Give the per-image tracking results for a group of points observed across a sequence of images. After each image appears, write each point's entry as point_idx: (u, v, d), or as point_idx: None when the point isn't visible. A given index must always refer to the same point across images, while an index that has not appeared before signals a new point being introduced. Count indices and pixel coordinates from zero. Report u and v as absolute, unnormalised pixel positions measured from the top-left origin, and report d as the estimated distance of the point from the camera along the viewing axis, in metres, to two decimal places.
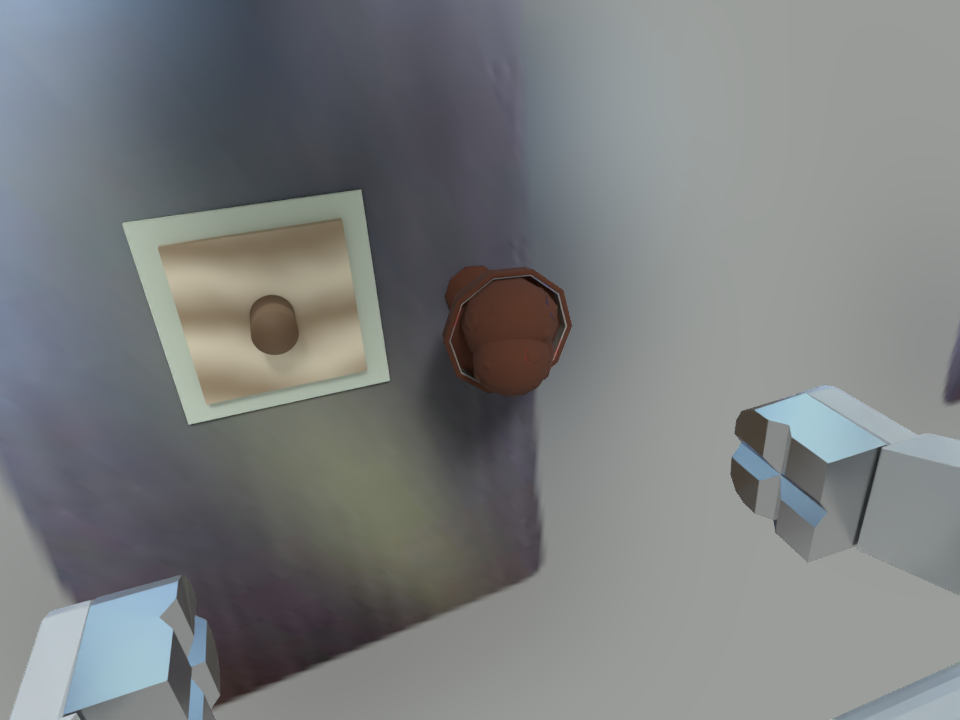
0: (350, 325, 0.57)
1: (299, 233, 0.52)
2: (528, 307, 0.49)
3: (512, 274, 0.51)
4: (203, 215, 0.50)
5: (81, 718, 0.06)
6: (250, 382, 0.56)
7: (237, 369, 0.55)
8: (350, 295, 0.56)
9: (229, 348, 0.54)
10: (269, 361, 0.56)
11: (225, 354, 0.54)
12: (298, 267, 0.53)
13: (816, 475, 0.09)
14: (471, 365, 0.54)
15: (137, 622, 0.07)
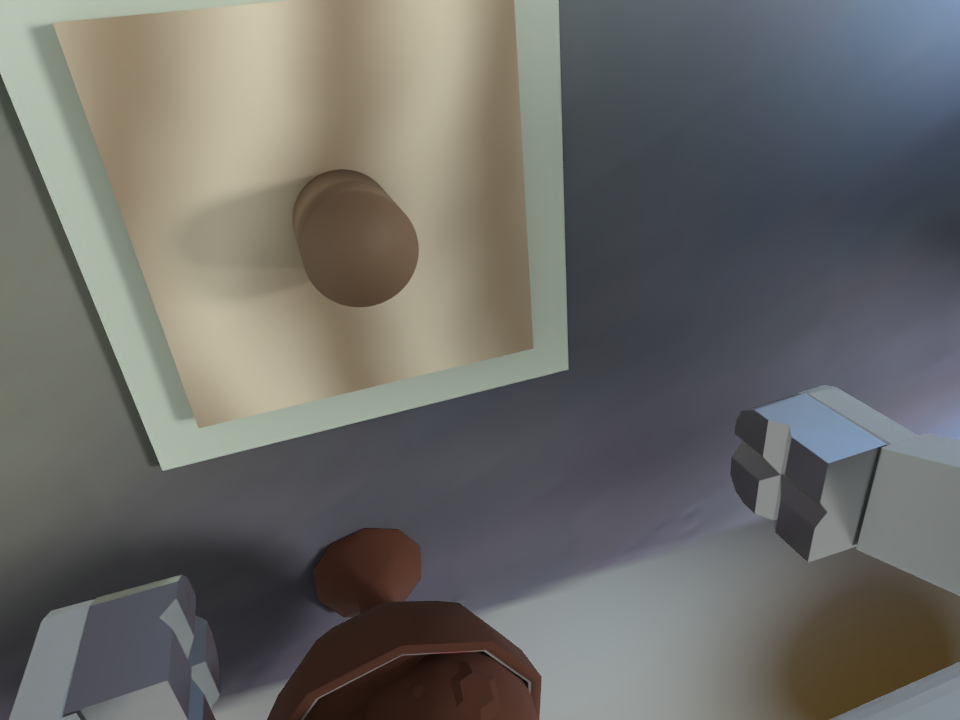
0: (316, 381, 0.26)
1: (517, 275, 0.27)
2: None
3: (535, 708, 0.26)
4: (555, 89, 0.25)
5: (81, 718, 0.06)
6: (145, 156, 0.21)
7: (187, 127, 0.21)
8: (386, 375, 0.27)
9: (253, 112, 0.21)
10: (215, 209, 0.22)
11: (233, 100, 0.21)
12: (451, 274, 0.26)
13: (816, 475, 0.09)
14: (323, 700, 0.23)
15: (137, 622, 0.07)
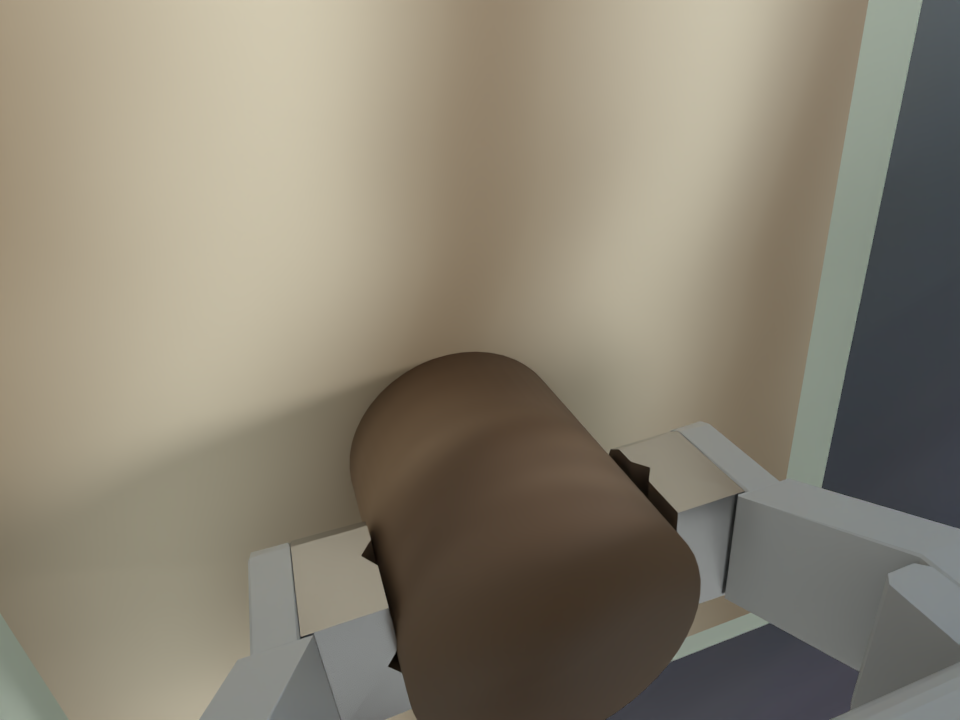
0: None
1: None
2: None
3: None
4: (880, 157, 0.12)
5: (316, 640, 0.07)
6: None
7: (89, 290, 0.08)
8: None
9: (262, 244, 0.08)
10: (172, 463, 0.09)
11: (212, 218, 0.08)
12: None
13: (670, 523, 0.08)
14: None
15: (341, 560, 0.08)
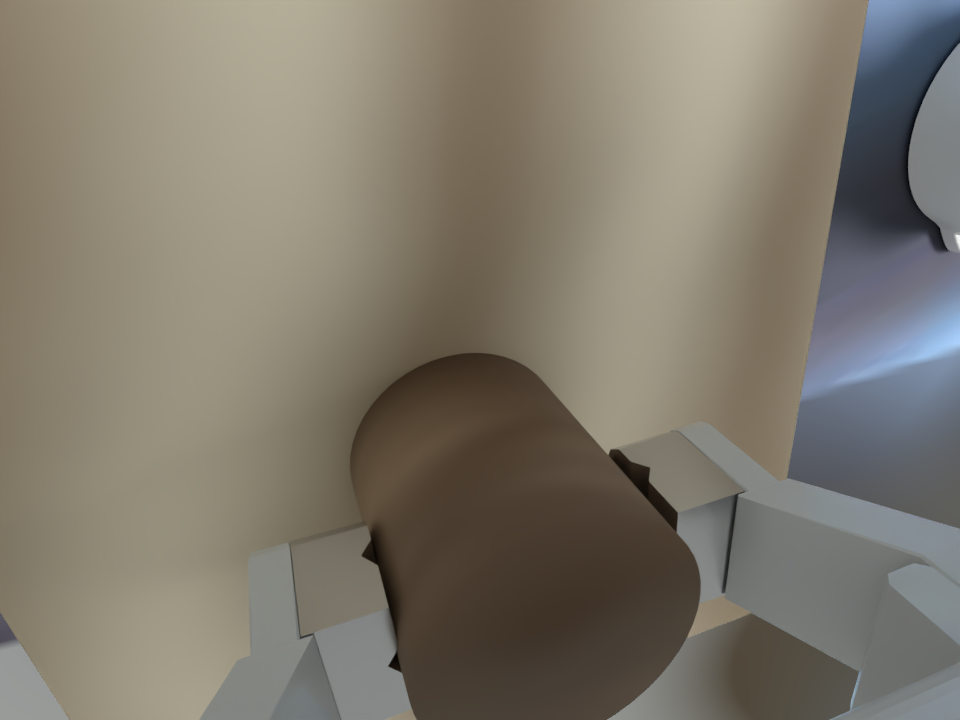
0: None
1: None
2: None
3: None
4: None
5: (316, 640, 0.07)
6: None
7: (90, 292, 0.08)
8: None
9: (262, 246, 0.08)
10: (173, 465, 0.09)
11: (212, 220, 0.08)
12: None
13: (670, 524, 0.08)
14: None
15: (341, 560, 0.08)
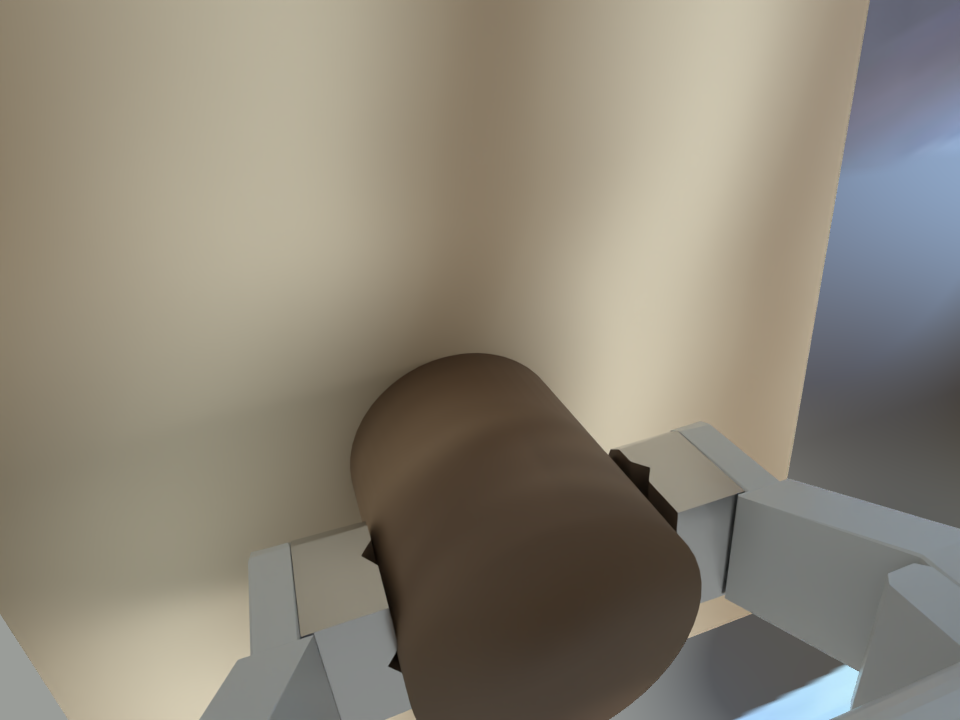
0: None
1: None
2: None
3: None
4: None
5: (316, 640, 0.07)
6: None
7: (90, 292, 0.08)
8: None
9: (262, 246, 0.08)
10: (172, 465, 0.09)
11: (212, 220, 0.08)
12: None
13: (670, 524, 0.08)
14: None
15: (341, 560, 0.08)
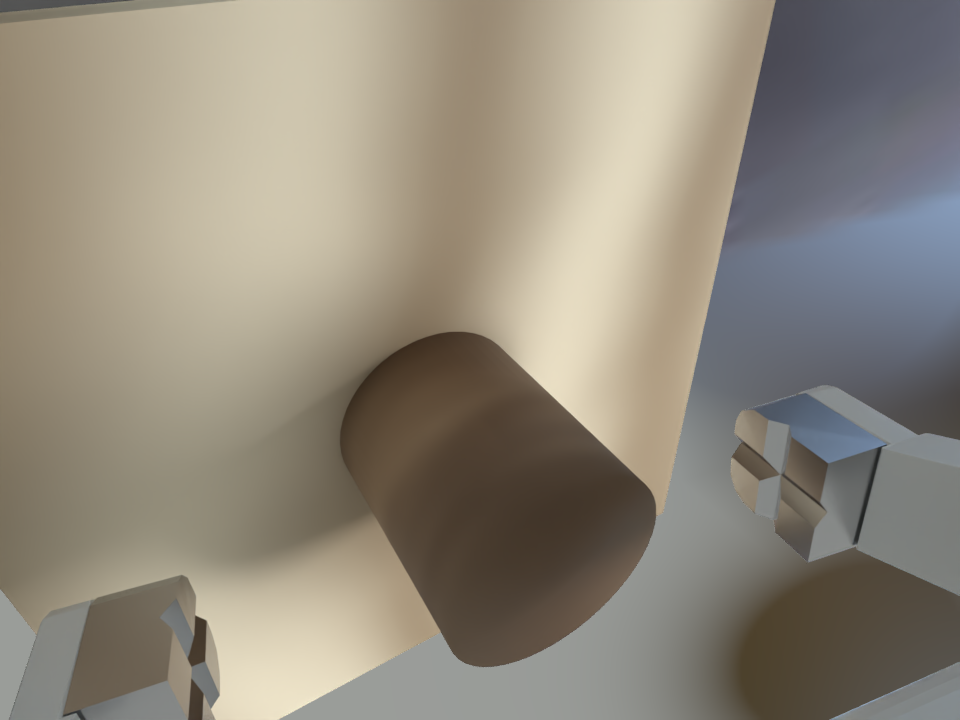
0: (362, 653, 0.15)
1: (667, 430, 0.17)
2: None
3: None
4: None
5: (81, 718, 0.06)
6: None
7: (106, 308, 0.08)
8: None
9: (269, 254, 0.09)
10: (182, 457, 0.10)
11: (223, 234, 0.08)
12: None
13: (816, 475, 0.09)
14: None
15: (137, 622, 0.07)
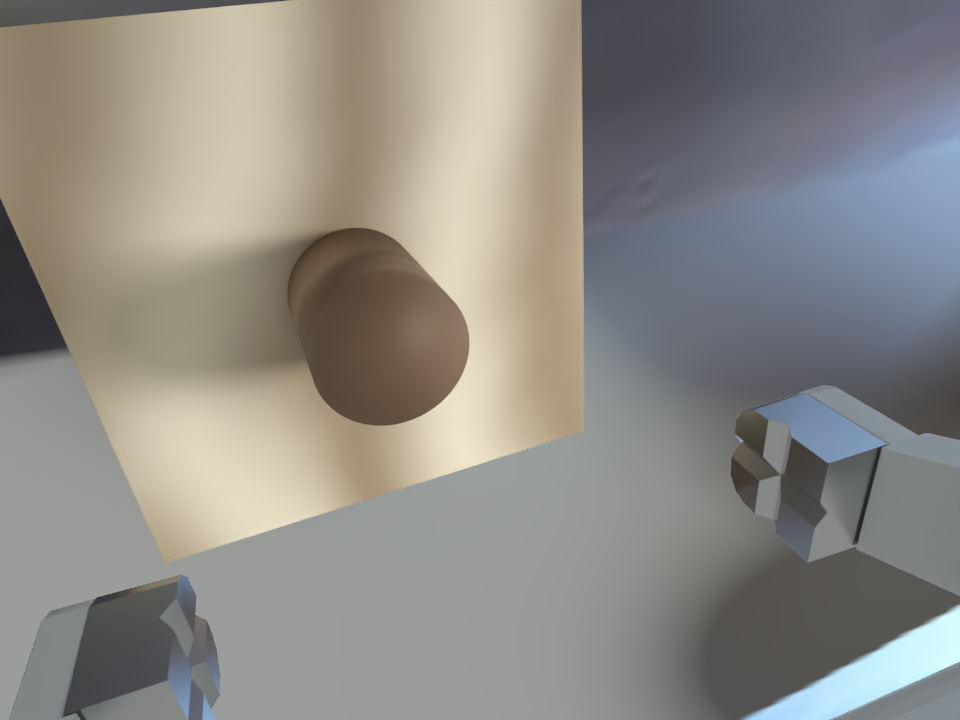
0: (319, 493, 0.20)
1: (569, 347, 0.21)
2: None
3: None
4: None
5: (81, 718, 0.06)
6: (78, 222, 0.15)
7: (138, 179, 0.15)
8: (407, 477, 0.21)
9: (232, 157, 0.15)
10: (182, 288, 0.16)
11: (204, 141, 0.15)
12: (490, 350, 0.20)
13: (816, 475, 0.09)
14: None
15: (137, 622, 0.07)
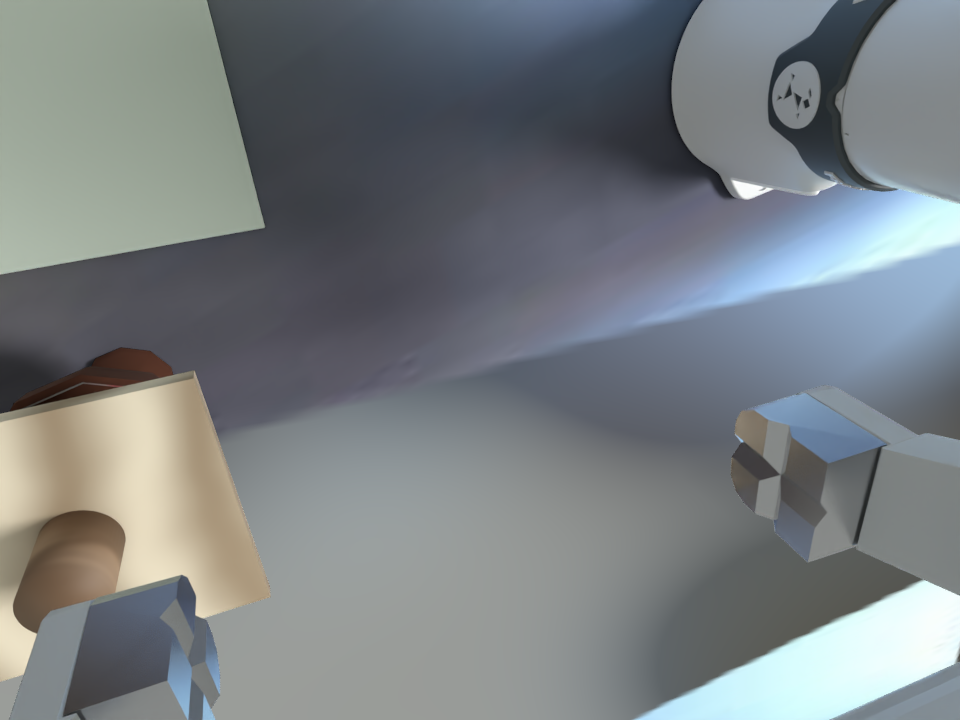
0: None
1: (243, 553, 0.34)
2: None
3: None
4: (205, 13, 0.36)
5: (81, 718, 0.06)
6: None
7: None
8: None
9: None
10: None
11: None
12: (184, 560, 0.33)
13: (816, 475, 0.09)
14: None
15: (137, 622, 0.07)
